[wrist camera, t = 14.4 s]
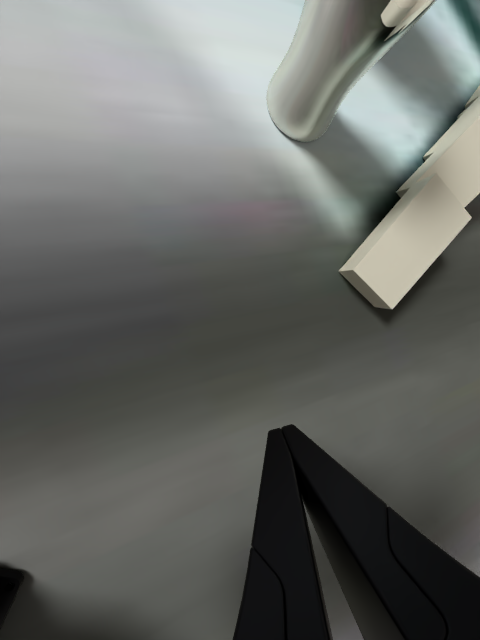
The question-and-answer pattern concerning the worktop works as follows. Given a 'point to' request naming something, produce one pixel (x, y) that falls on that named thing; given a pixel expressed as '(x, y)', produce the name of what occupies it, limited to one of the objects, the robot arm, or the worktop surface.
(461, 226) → the domino
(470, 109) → the domino
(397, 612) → the robot arm
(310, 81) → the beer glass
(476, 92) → the domino
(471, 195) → the domino
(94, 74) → the worktop surface
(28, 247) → the worktop surface
